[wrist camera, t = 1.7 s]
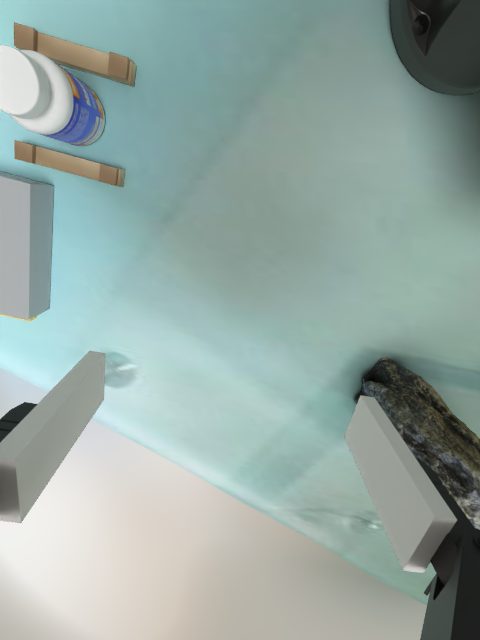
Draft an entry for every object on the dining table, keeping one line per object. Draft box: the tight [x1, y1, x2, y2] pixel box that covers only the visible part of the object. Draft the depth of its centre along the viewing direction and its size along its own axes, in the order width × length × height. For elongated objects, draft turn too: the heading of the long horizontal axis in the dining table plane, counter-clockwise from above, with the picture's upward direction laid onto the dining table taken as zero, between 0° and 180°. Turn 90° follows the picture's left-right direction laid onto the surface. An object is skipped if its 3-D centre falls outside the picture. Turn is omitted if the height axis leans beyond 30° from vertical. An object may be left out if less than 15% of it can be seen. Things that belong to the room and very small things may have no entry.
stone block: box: [355, 358, 480, 529], centre depth 34 cm, size 18×9×20 cm, turn 46°
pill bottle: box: [0, 45, 105, 146], centre depth 26 cm, size 5×5×10 cm
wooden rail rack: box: [14, 23, 137, 187], centre depth 29 cm, size 11×10×2 cm
